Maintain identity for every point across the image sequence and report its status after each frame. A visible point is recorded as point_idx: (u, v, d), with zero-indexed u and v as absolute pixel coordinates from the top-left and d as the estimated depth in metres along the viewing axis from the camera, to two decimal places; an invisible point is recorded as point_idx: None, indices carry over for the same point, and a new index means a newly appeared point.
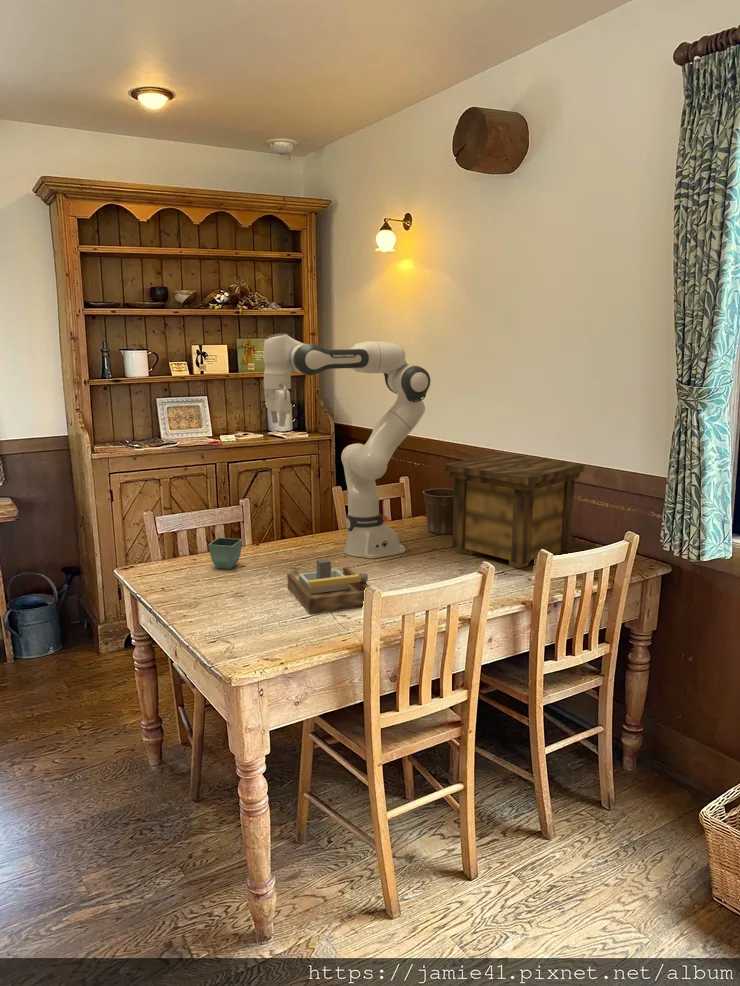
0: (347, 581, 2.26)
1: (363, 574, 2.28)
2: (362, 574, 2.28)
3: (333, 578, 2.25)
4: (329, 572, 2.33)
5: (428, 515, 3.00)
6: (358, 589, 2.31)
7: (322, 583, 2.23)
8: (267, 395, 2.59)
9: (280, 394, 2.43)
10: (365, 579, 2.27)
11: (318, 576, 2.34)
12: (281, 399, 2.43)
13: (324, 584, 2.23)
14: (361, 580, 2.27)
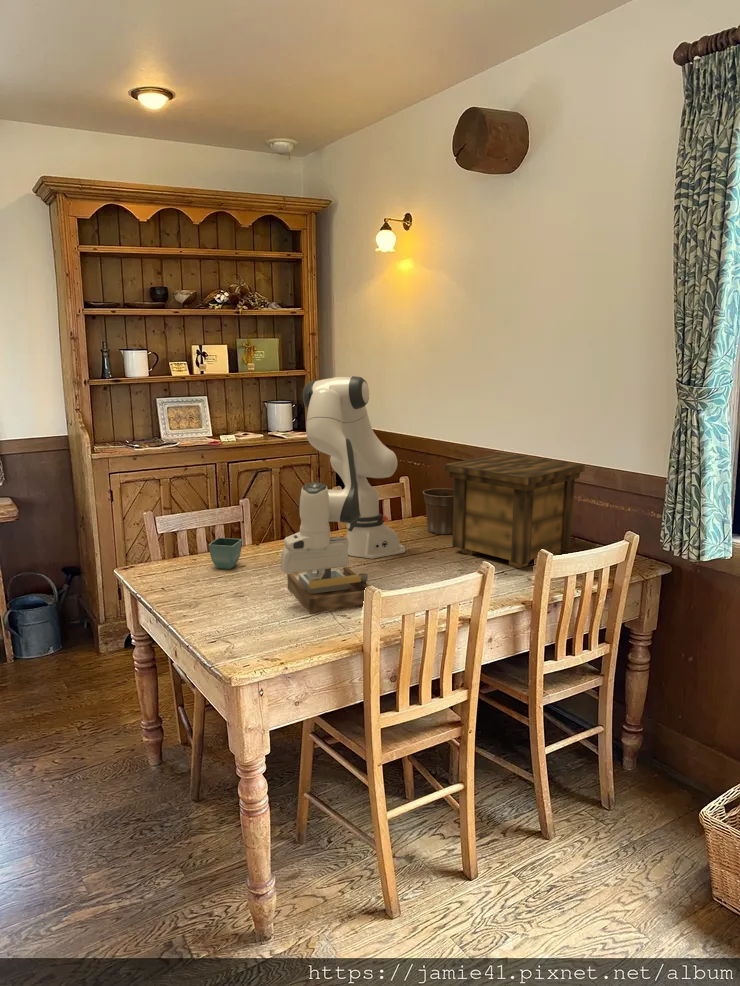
0: (347, 581, 2.26)
1: (363, 574, 2.28)
2: (362, 574, 2.28)
3: (334, 578, 2.25)
4: (329, 572, 2.33)
5: (428, 515, 3.00)
6: (358, 589, 2.31)
7: (322, 583, 2.22)
8: (292, 557, 2.18)
9: (346, 546, 2.24)
10: (365, 579, 2.27)
11: None
12: (347, 551, 2.25)
13: (325, 585, 2.23)
14: (361, 580, 2.27)
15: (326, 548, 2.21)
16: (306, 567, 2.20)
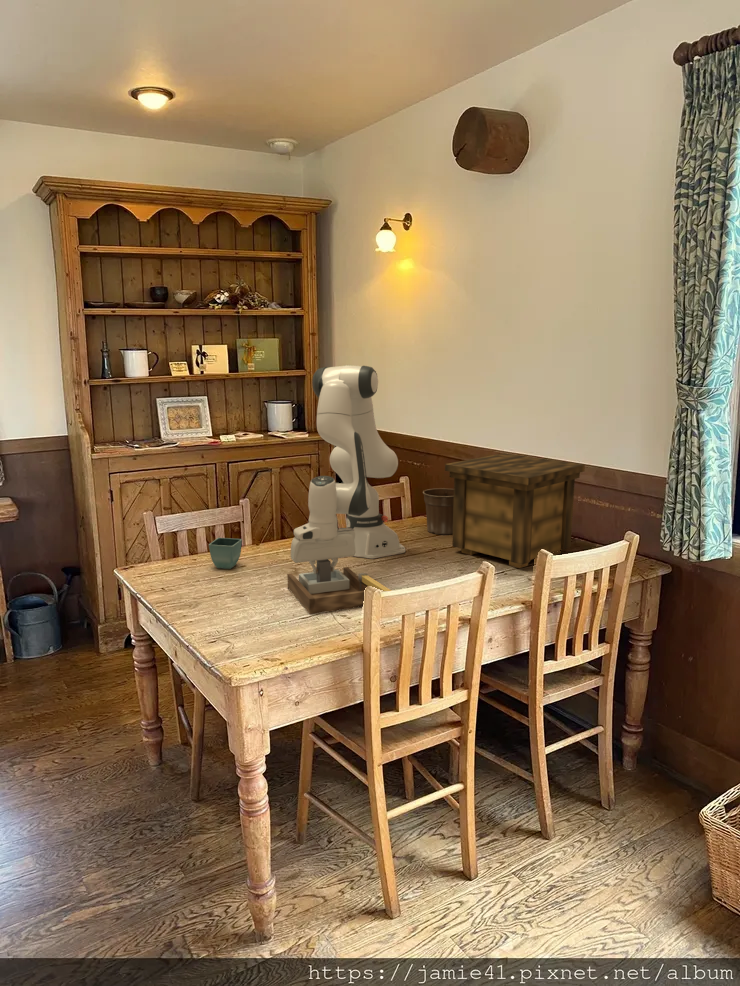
0: None
1: (362, 574, 2.28)
2: (362, 574, 2.28)
3: (376, 583, 2.20)
4: (329, 572, 2.33)
5: (428, 515, 3.00)
6: (358, 589, 2.31)
7: None
8: (302, 548, 2.28)
9: (352, 537, 2.34)
10: None
11: (318, 576, 2.34)
12: None
13: None
14: None
15: (334, 538, 2.31)
16: (315, 557, 2.30)
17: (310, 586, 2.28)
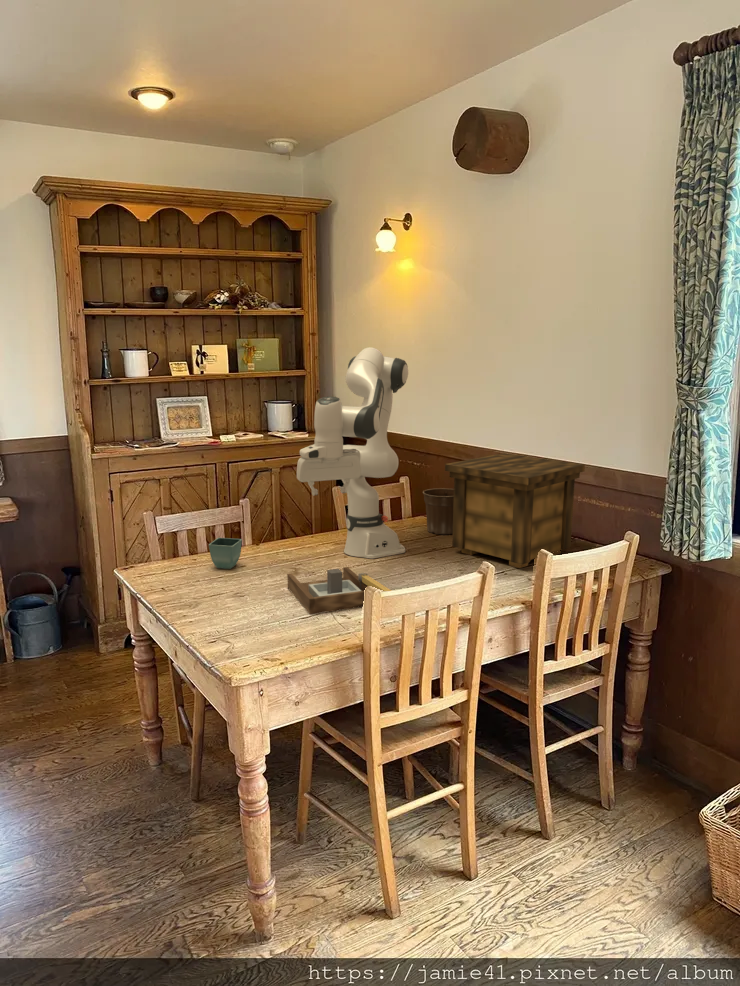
0: None
1: (362, 574, 2.28)
2: (362, 574, 2.28)
3: (376, 583, 2.20)
4: (340, 583, 2.23)
5: (428, 515, 3.00)
6: None
7: None
8: (308, 467, 2.30)
9: (358, 458, 2.36)
10: None
11: (329, 587, 2.24)
12: None
13: None
14: None
15: (339, 459, 2.33)
16: (320, 477, 2.32)
17: None
